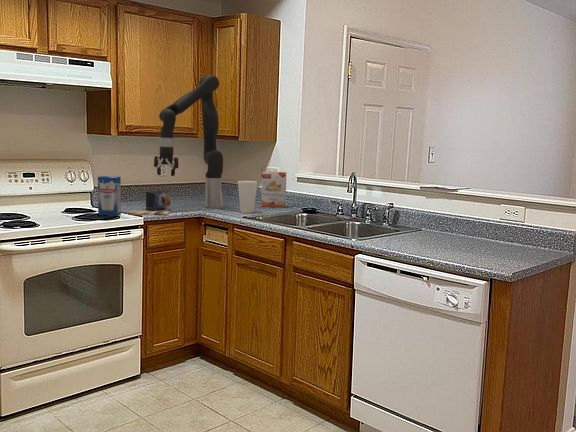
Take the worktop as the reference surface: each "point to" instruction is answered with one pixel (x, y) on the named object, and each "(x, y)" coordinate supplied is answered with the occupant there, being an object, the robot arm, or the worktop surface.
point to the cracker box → (273, 189)
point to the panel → (149, 212)
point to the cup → (247, 195)
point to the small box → (155, 200)
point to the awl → (167, 202)
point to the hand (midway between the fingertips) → (165, 175)
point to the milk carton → (109, 195)
